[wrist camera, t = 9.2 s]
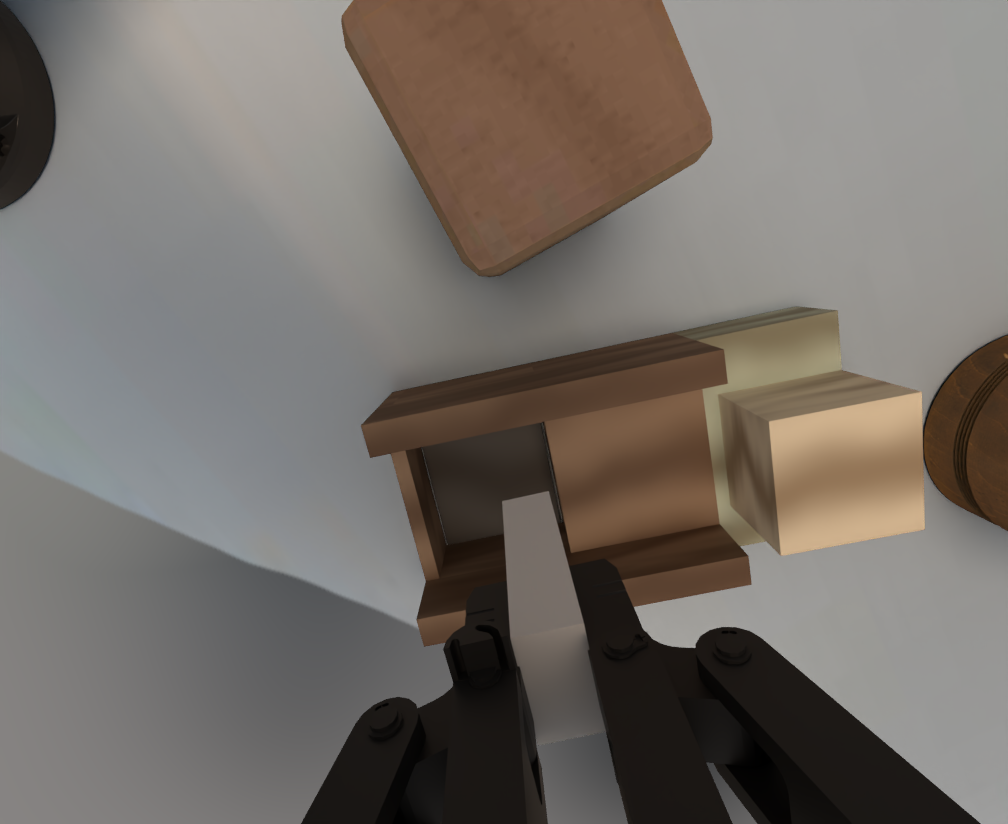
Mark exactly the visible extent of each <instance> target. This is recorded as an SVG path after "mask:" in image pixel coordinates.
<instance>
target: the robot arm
mask: <svg viewBox="0 0 1008 824" xmlns="http://www.w3.org/2000/svg"><path fill="white" fill-rule="evenodd" d="M53 129H54V108H53V99H52V93H51V88H50V84H49V80H48V76H47V73H46V70H45V67H44V65H43V62H42V60H41V57H40V55H39V53H38V51H37V49H36V47H35V45H34V43H33V42H32V40H31V38H30V37H29V35H28V33H27V32H26V30H25V29H24V27H23V26H22V25H21V23H20V22H19V21H18V19H17V18H16V17H15V16H14V14H13V13H12V12H11V11H10V10H9V9H8V8H7V7H6V6H5V5H4V4H3V3H2V2H1V1H0V209H1V208H3V207H5V206H7V205H9V204H10V203H12V202H14V201H15V200H16V199H18V198H19V197H20V196H21V195H23V194H24V193H25V192H26V191H27V190H28V189H29V188H30V187H31V185H32V184H33V183H34V182H35V180H36V179H37V177H38V176H39V174H40V172H41V171H42V169H43V167H44V165H45V162H46V160H47V157H48V154H49V151H50V147H51V143H52V137H53ZM502 506H503V523H504V540H505V557H506V573H507V581H503V582H498V583H494V584H489V585H484V586H480V587H475V588H474V590H473V591H472V593H471V594H470V596H469V598H468V599H467V601H466V617H465V626H463V627H461V628H460V629H458V630H456V631H455V632H454V633H453V634H452V635H451V636H450V637H449V638H448V639H447V641H446V643H445V646H444V653H445V656H446V660H447V663H448V666H449V669H450V673H451V676H452V679H453V687H452V688H451V689H450V690H449V691H448V692H447V693H445V694H444V695H443V696H441V697H439V698H438V699H436V700H434V701H432V702H430V703H428V704H426V705H424V706H422V707H420V708H417V706H416V704H415V703H414V702H412V701H411V700H410V699H407V698H401V697H396V698H390V699H386V700H384V701H382V702H379V703H377V704H375V705H373V706H372V707H371V708H370V709H368V710H367V711H366V712H365V713H364V714H363V715H362V716H361V717H360V719H359V720H358V721H357V723H356V724H355V726H354V728H353V729H352V731H351V733H350V735H349V737H348V739H347V740H346V742H345V744H344V746H343V748H342V750H341V752H340V753H339V755H338V757H337V759H336V761H335V762H334V764H333V766H332V768H331V770H330V772H329V774H328V775H327V777H326V779H325V781H324V783H323V785H322V786H321V788H320V790H319V792H318V794H317V796H316V797H315V799H314V801H313V803H312V805H311V807H310V808H309V810H308V812H307V814H306V816H305V818H304V819H303V821H302V823H301V824H548V822H547V812H546V803H545V795H544V785H543V777H542V768H541V764H540V760H539V756H538V752H537V748H536V739H537V743H538V745H543V744H548V743H553V742H558V741H562V740H568V739H572V738H577V737H582V736H587V735H592V734H597V733H602V732H606V734H607V738H608V742H609V747H610V751H611V757H612V762H613V766H614V770H615V775H616V780H617V783H618V785H619V788H620V793H621V796H622V801H623V805H624V809H625V813H626V817H627V821H628V824H732V821H731V819H730V817H729V814H728V812H727V810H726V807H725V805H724V803H723V801H722V799H721V796H720V794H719V791H718V789H717V787H716V784H715V782H714V780H713V777H712V775H711V773H710V771H709V769H708V766H707V764H706V762H709V763H714V765H715V767H716V769H717V771H718V772H719V774H720V775H721V776H722V778H723V779H724V780H725V782H726V783H727V784H728V785H729V787H730V788H731V789H732V791H733V792H734V793H735V795H736V796H737V797H738V799H739V800H740V801H741V802H742V804H743V805H744V807H745V808H746V809H747V810H748V812H749V813H750V814H751V816H752V817H753V818H754V820H755V821H756V822H757V824H980V823H979V822H978V821H977V820H976V819H975V818H973V817H972V816H971V815H970V814H969V813H967V812H966V811H965V810H964V809H963V808H962V807H960V806H959V805H958V804H957V803H956V802H954V801H953V800H952V799H951V798H950V797H948V796H947V795H946V794H945V793H944V792H943V791H941V790H940V789H939V788H938V787H937V786H935V785H934V784H933V783H932V782H931V781H930V780H928V779H927V778H926V777H925V776H924V775H922V774H921V773H920V772H919V771H918V770H917V769H915V768H914V767H913V766H912V765H911V764H909V763H908V762H907V761H906V760H905V759H904V758H902V757H901V756H900V755H899V754H898V753H896V752H895V751H894V750H893V749H892V748H891V747H889V746H888V745H887V744H886V743H885V742H883V741H882V740H881V739H880V738H879V737H878V736H876V735H875V734H874V733H873V732H872V731H870V730H869V729H868V728H867V727H866V726H865V725H863V724H862V723H861V722H860V721H859V720H857V719H856V718H855V717H854V716H853V715H852V714H850V713H849V712H848V711H847V710H846V709H844V708H843V707H842V706H841V705H840V704H839V703H837V702H836V701H835V700H834V699H833V698H831V697H830V696H829V695H828V694H827V693H826V692H824V691H823V690H822V689H821V688H820V687H818V686H817V685H816V684H815V683H814V682H813V681H811V680H810V679H809V678H808V677H807V676H805V675H804V674H803V673H802V672H801V671H800V670H798V669H797V668H796V667H795V666H794V665H792V664H791V663H790V662H789V661H788V660H787V659H785V658H784V657H783V656H782V655H781V654H779V653H778V652H777V651H776V650H775V649H773V648H772V647H771V646H770V645H769V644H768V643H766V642H765V641H764V640H763V639H762V638H760V637H759V636H757V635H755V634H754V633H752V632H750V631H747V630H744V629H740V628H736V627H721V628H717V629H713V630H710V631H708V632H706V633H705V634H703V635H702V636H700V638H699V640H698V641H697V643H696V648H679V647H671V646H667V645H664V644H660V643H658V642H657V641H655V640H653V639H652V638H651V637H650V636H649V635H648V633H647V632H645V631H644V630H643V628H642V626H641V624H640V621H639V619H638V617H637V614H636V612H635V609H634V607H633V605H632V602H631V600H630V598H629V595H628V593H627V592H626V588H625V586H624V584H623V582H622V579H621V577H620V574H619V572H618V569H617V567H615V566H614V565H613V564H611V563H610V562H609V561H607V560H606V559H605V558H604V559H599V560H595V561H590V562H585V563H581V564H576V565H571V566H568V562H567V558H566V554H565V551H564V547H563V543H562V539H561V536H560V532H559V528H558V524H557V521H556V517H555V513H554V509H553V506H552V502H551V498H550V495H549V491H546V492H542V493H537V494H533V495H528V496H524V497H519V498H514V499H510V500H505V501H502ZM535 736H536V737H535Z"/></svg>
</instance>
